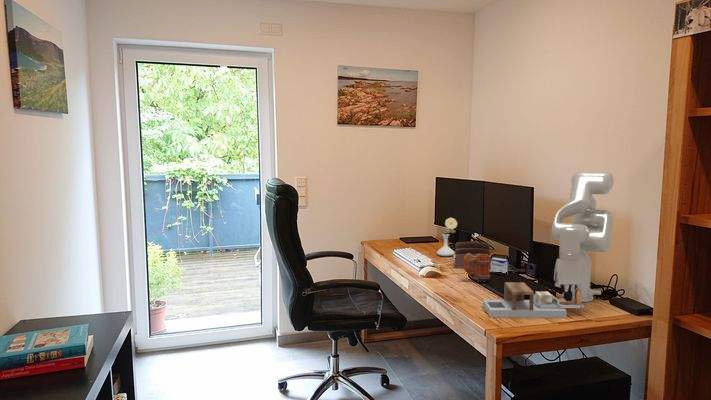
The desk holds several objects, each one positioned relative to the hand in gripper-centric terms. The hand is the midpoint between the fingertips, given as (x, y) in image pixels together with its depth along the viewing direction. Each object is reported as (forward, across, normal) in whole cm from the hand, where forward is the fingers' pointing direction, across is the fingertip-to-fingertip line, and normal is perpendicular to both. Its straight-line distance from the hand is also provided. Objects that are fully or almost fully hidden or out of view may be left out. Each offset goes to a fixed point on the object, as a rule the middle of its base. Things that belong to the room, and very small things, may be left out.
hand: (567, 300), depth 184 cm
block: (+2, +10, 0) cm, 10 cm away
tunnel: (+2, +20, 0) cm, 20 cm away
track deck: (+5, +18, 0) cm, 19 cm away
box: (+5, +13, -59) cm, 61 cm away
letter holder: (+6, +24, -76) cm, 80 cm away
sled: (+2, +4, 0) cm, 4 cm away
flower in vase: (+5, +35, -104) cm, 110 cm away
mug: (+5, +28, -44) cm, 52 cm away
